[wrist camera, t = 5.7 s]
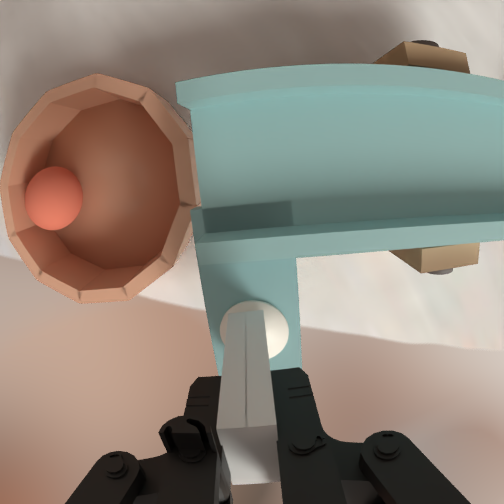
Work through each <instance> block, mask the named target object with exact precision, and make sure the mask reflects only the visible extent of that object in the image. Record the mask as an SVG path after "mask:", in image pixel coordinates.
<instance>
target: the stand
mask: <svg viewBox="0 0 504 504" xmlns="http://www.w3.org/2000/svg"><path fill="white" fill-rule="evenodd" d="M373 64H384V65H401V66H413V67H424V68H433V69H441V70H448V71H455V72H461V73H467V74H470V71H469V66H468V61H467V57H466V53H463V52H458V51H454V50H450V49H445V48H440V47H439V45H438V44H437V43H435V42H432V41H427V40H418V41H412V42H405V41H404V42H402V43H401V44H399V45H398V46H397V47H395V48H394V49H392V50H391V51H389V52H388V53H387V54H385V55H384V56H382V57H381V58H380V59H378V60H377V61H376V62H374V63H373ZM479 245H480V242H479V243H468V244H457V245H445V246H434V247H423V248H411V249H400V250H388V251H390V252H391V253H393V254H394V255H395V256H397V257H398V258H400V259H401V260H403V261H404V262H406V263H407V264H408V265H410V266H411V267H413V268H414V269H416V270H417V271H418V272H420V273H426V272H427V273H430V274H437V275H442V274H448V273H451V272H452V271H453V268H456V267H461V266H467V265H473V264H478V256H479Z"/></svg>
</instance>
